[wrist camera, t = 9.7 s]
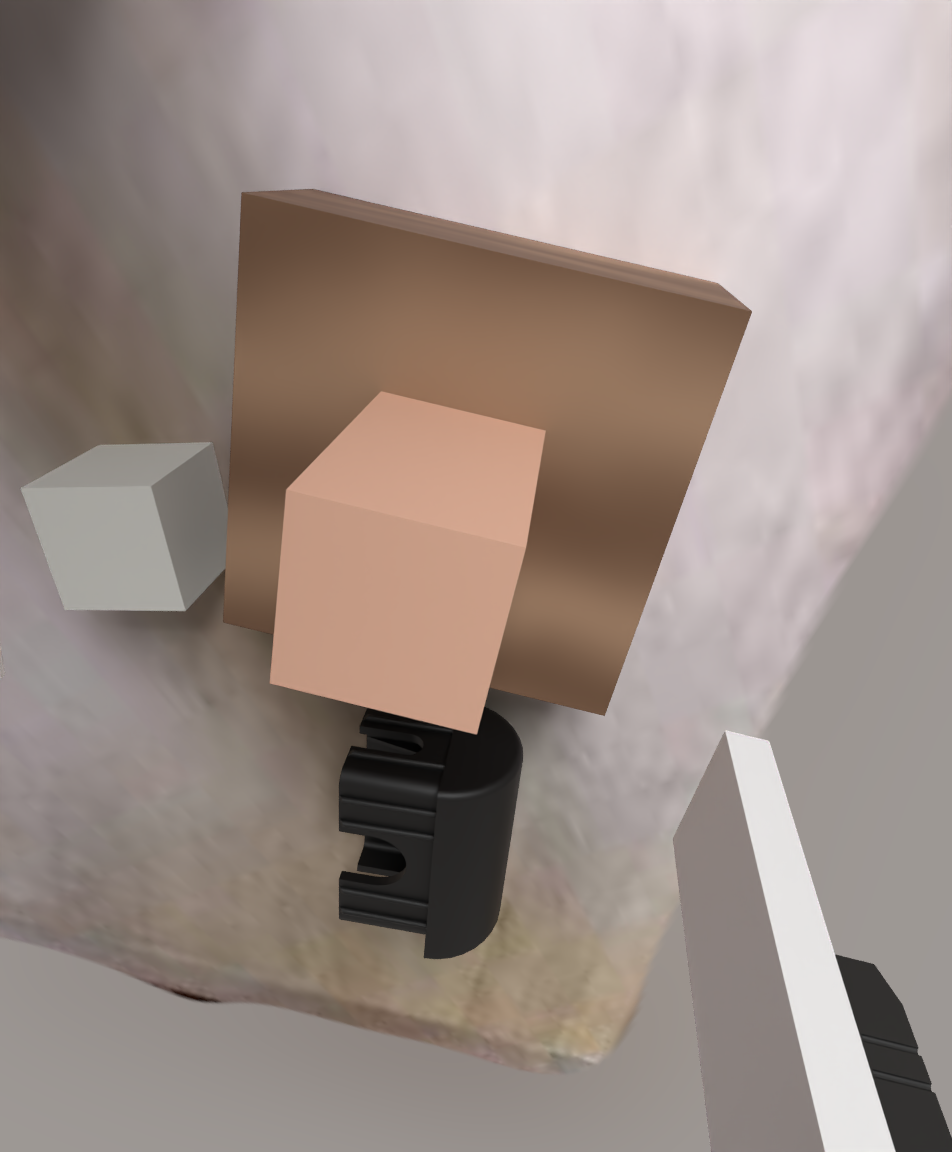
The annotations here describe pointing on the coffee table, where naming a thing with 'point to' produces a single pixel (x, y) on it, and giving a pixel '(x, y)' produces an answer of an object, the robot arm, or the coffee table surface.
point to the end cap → (430, 827)
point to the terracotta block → (405, 560)
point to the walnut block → (479, 402)
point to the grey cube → (132, 526)
